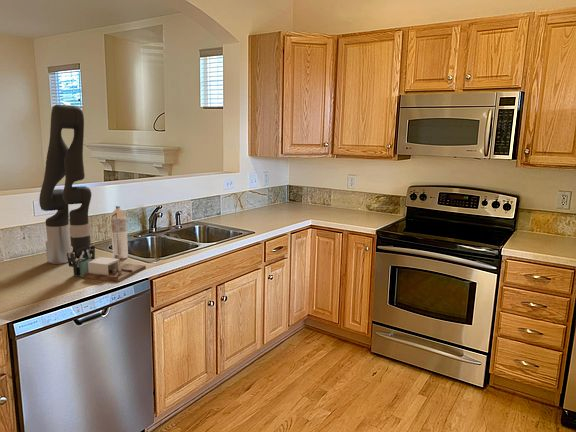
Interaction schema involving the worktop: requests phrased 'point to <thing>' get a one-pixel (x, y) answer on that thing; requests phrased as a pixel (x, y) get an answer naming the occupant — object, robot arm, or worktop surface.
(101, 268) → the white rectangular block
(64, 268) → the worktop surface
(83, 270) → the sleeve
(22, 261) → the worktop surface
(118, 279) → the board
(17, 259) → the worktop surface
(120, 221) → the water bottle
